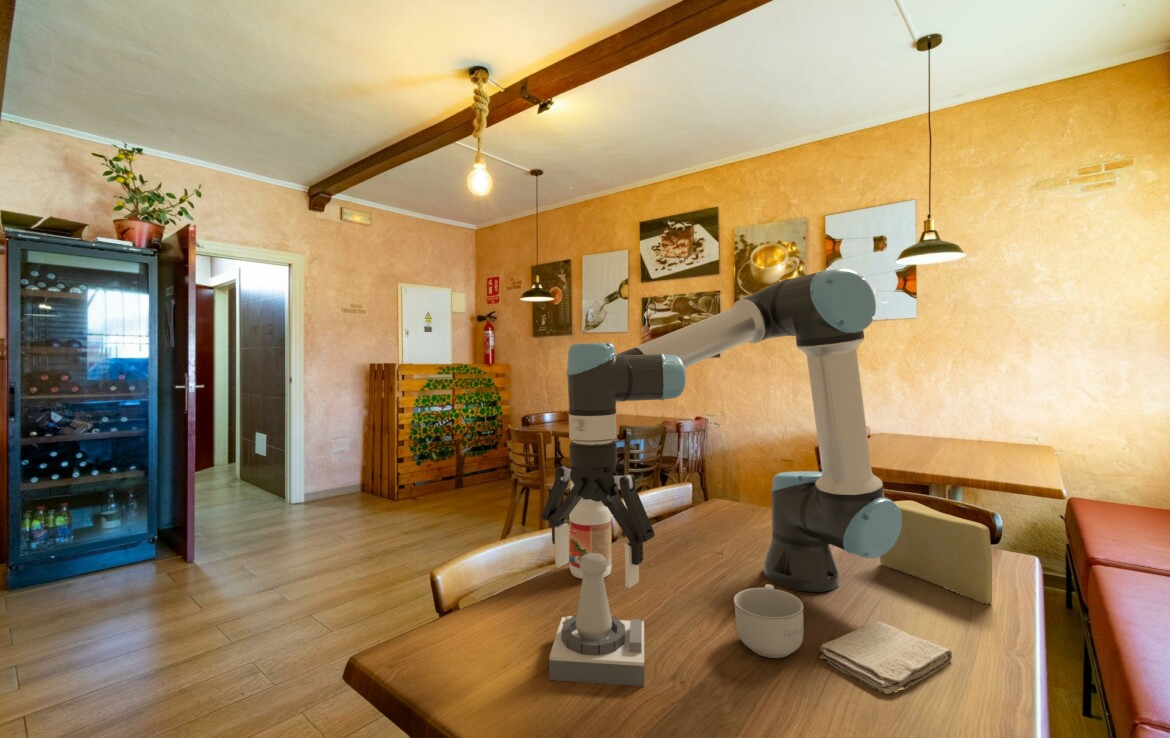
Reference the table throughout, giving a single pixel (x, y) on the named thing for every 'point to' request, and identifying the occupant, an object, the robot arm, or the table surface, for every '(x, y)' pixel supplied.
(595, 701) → the table surface
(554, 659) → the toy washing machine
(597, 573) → the bowling pin
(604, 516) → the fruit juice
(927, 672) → the washcloth
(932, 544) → the cheese
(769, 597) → the teacup
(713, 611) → the table surface
